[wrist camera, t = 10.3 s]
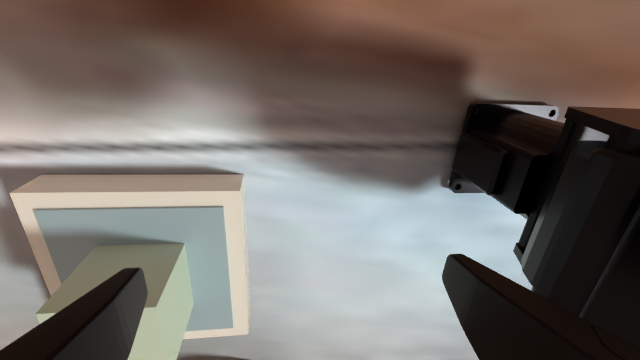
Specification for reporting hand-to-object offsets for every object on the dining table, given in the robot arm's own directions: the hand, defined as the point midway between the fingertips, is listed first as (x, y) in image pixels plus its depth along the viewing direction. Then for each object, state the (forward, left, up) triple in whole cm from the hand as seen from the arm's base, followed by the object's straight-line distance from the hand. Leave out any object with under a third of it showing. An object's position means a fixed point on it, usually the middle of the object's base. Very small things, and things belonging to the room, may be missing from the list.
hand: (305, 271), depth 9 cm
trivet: (+9, +8, -12) cm, 17 cm away
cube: (+9, +8, -9) cm, 15 cm away
